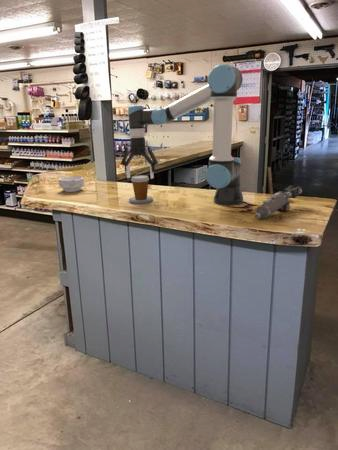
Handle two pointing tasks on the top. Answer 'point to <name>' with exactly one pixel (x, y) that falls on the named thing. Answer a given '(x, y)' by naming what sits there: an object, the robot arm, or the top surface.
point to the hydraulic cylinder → (277, 202)
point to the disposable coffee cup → (140, 186)
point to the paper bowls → (71, 183)
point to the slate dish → (134, 201)
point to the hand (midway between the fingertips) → (140, 178)
